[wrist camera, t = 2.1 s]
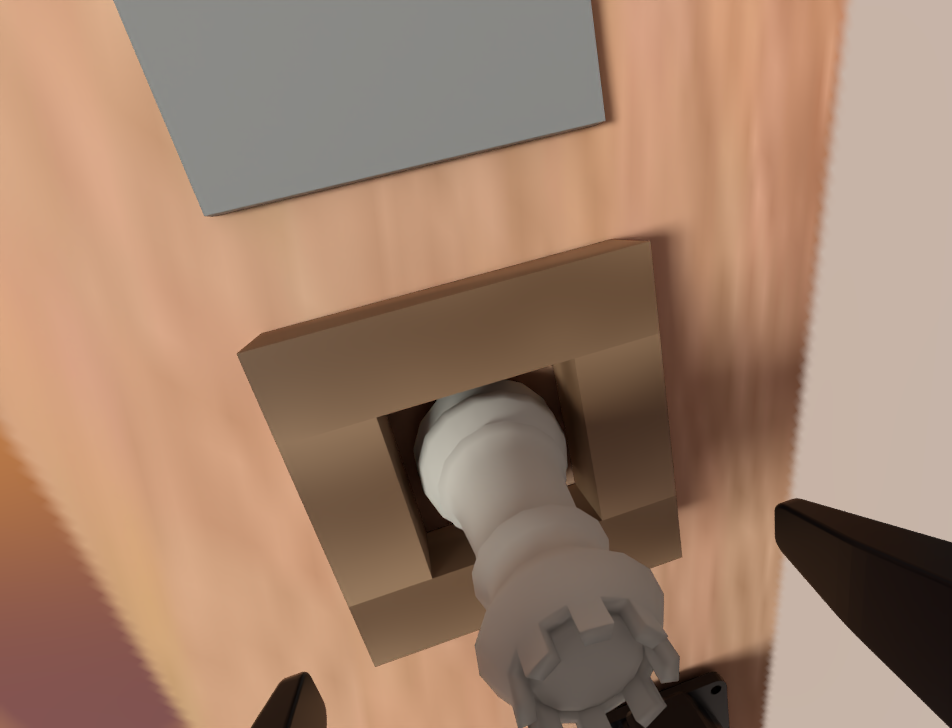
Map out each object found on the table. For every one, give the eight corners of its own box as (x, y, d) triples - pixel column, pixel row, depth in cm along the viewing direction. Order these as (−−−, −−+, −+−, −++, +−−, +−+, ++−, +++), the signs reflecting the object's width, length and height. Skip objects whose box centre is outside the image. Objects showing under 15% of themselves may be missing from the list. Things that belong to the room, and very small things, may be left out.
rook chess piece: (492, 341, 13) (638, 498, 5) (578, 438, 14) (786, 665, 7) (381, 442, 13) (373, 725, 6) (477, 526, 15) (571, 837, 7)
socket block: (647, 518, 16) (682, 557, 14) (376, 611, 15) (375, 667, 13) (611, 239, 13) (650, 240, 11) (260, 333, 12) (236, 354, 10)
